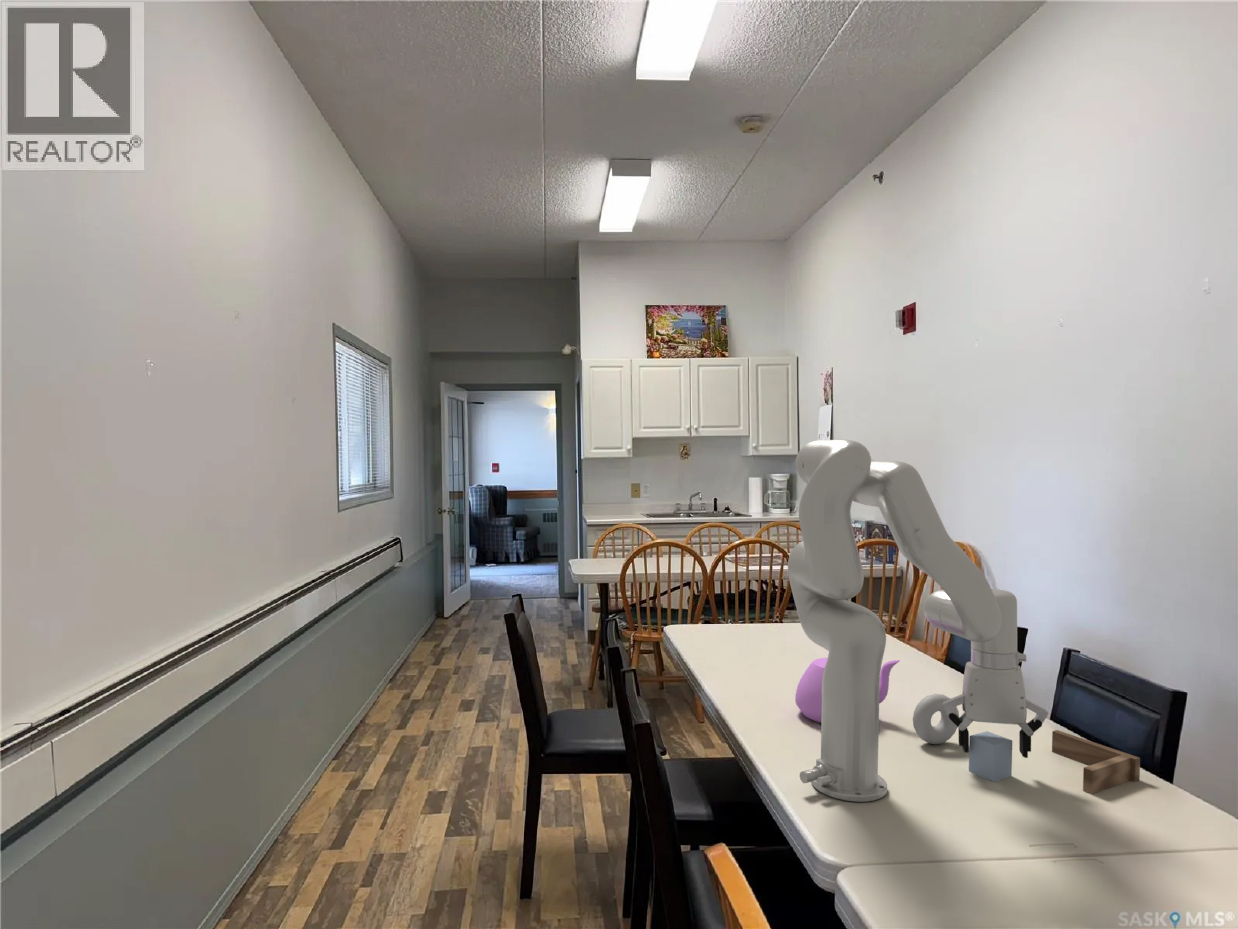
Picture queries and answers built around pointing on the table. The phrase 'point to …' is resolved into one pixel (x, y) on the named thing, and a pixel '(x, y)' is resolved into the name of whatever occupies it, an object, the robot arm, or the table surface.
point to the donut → (923, 720)
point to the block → (990, 756)
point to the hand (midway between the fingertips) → (994, 752)
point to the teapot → (811, 688)
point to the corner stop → (1097, 762)
